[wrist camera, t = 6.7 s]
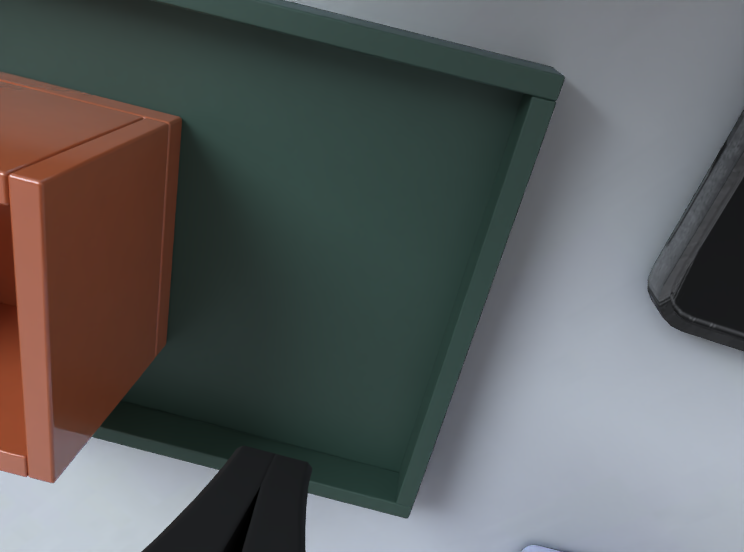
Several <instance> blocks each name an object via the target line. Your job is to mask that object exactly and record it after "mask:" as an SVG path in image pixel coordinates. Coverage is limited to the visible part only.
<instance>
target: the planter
mask: <svg viewBox="0 0 744 552" xmlns="http://www.w3.org/2000/svg"><path fill="white" fill-rule="evenodd" d="M181 128H182V118H181V117H179V116H175V115H171V114H167V113H163V112H159V111H155V110H151V109H147V108H143V107H139V106H135V105H131V104H127V103H123V102H119V101H115V100H111V99H107V98H104V97H100V96H96V95H92V94H88V93H84V92H80V91H76V90H72V89H68V88H64V87H60V86H56V85H52V84H48V83H44V82H40V81H36V80H32V79H28V78H24V77H20V76H16V75H12V74H8V73H4V72H0V471H4V472H8V473H12V474H16V475H20V476H23V477H27V476H29V477H30V478H33V479H37V480H41V481H45V482H49V483H54V482H55V481H56V480H57V479H58V478H59V476H60V475H61V474H62V473H63V471H64V470H65V469H66V468H67V466H68V465H69V464H70V463H71V462H72V460H73V459H74V458H75V457H76V455H77V454H78V453H79V452H80V450H81V449H82V448H83V447H84V445H85V444H86V443H87V442H88V441H89V439H90V438H91V437H92V436H93V434H94V433H95V432H96V431H97V429H98V428H99V427H100V426H101V425H102V423H103V422H104V421H105V420H106V418H107V417H108V416H109V415H110V413H111V412H112V411H113V410H114V408H115V407H116V406H117V405H118V404H119V402H120V401H121V400H122V399H123V397H124V396H125V395H126V394H127V392H128V391H129V390H130V389H131V387H132V386H133V385H134V384H135V383H136V381H137V380H138V379H139V378H140V376H141V375H142V374H143V373H144V371H145V370H146V369H147V368H148V367H149V365H150V364H151V363H152V362H153V360H154V359H155V357H156V356H157V355H158V354H159V353H160V351H161V350H162V349H163V348H164V346H165V345H166V341H167V327H168V313H169V299H170V284H171V270H172V256H173V242H174V228H175V213H176V199H177V185H178V171H179V157H180V142H181Z"/></svg>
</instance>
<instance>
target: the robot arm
mask: <svg viewBox="0 0 744 552" xmlns="http://www.w3.org/2000/svg"><path fill="white" fill-rule="evenodd" d="M312 469H313V468H312V467H311V466H310V464H309V463H308V462H306V461H302V460H298V459H294V458H290V457H286V456H283V455H279V454H275V453H271V452H267V451H263V450H260V449H256V448H252V447H248V446H244V445H243V446H241V447H239V448H237V449H236V450H235V451H234V453H233V454H232V456H231V457H230V458H229V459H228V461H227V462H226V463H225V464H224V466H223V467H222V468H221V469H220V471H219V472H218V473H217V474H216V475H215V477H214V478H213V479H212V480H211V481H210V482H209V484H208V485H207V486H206V487H205V488H204V489H203V490H202V491H201V492H200V494H199V495H198V496H197V497H196V498H195V499H194V500H193V501H192V502H191V503H190V504H189V505H188V506H187V507H186V508H185V509H184V510H183V511H182V513H181V514H180V515H179V516H178V517H177V518H176V519H175V520H174V521H173V522H172V523H171V524H170V525H169V526H168V527H167V528H166V529H165V530H164V531H163V532H162V533H161V534H160V535H159V536H158V537H157V538H156V539H155V540H154V541H153V542H152V543H150V544H149V545H148V546H147V547H146V548H145V549H144V550H143V551H142V552H305V523H306V504H307V494H308V487H309V482H310V477H311V473H312ZM521 552H562V551H558V550H554V549H550V548H546V547H542V546H538V545H529V546H527V547H525V548H524V549H523V550H522V551H521Z"/></svg>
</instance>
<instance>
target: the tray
mask: <svg viewBox="0 0 744 552" xmlns="http://www.w3.org/2000/svg"><path fill="white" fill-rule="evenodd" d="M0 72H4V73H8V74H12V75H16V76H20V77H24V78H28V79H32V80H36V81H40V82H44V83H48V84H52V85H56V86H60V87H64V88H68V89H72V90H76V91H80V92H84V93H88V94H92V95H96V96H100V97H104V98H107V99H111V100H115V101H119V102H123V103H127V104H131V105H135V106H139V107H143V108H147V109H151V110H155V111H159V112H163V113H167V114H171V115H175V116H179V117H181V118H182V128H181V142H180V157H179V171H178V185H177V199H176V213H175V228H174V242H173V256H172V270H171V284H170V299H169V313H168V327H167V341H166V345H165V346H164V348H163V349H162V350H161V351H160V353H159V354H158V355H157V356H156V357H155V359H154V360H153V362H152V363H151V364H150V365H149V367H148V368H147V369H146V370H145V371H144V373H143V374H142V375H141V376H140V378H139V379H138V380H137V381H136V383H135V384H134V385H133V386H132V387H131V389H130V390H129V391H128V392H127V394H126V395H125V396H124V397H123V399H122V400H121V401H120V402H119V404H118V405H117V406H116V407H115V408H114V410H113V411H112V412H111V413H110V415H109V416H108V417H107V418H106V420H105V421H104V422H103V423H102V425H101V426H100V427H99V428H98V429H97V431H96V432H95V433H94V434H93V436H92V437H94V438H98V439H102V440H106V441H110V442H114V443H117V444H121V445H125V446H129V447H133V448H137V449H141V450H144V451H148V452H152V453H156V454H160V455H164V456H168V457H171V458H175V459H179V460H183V461H187V462H191V463H195V464H198V465H202V466H206V467H210V468H214V469H218V470H220V469H221V468H222V467H223V466H224V464H225V463H226V462H227V461H228V459H229V458H230V457H231V456H232V454H233V453H234V451H235V450H236V449H237V448H239V447H241V446H243V445H244V446H248V447H252V448H256V449H260V450H263V451H267V452H271V453H275V454H279V455H283V456H286V457H290V458H294V459H298V460H302V461H306V462H308V463H309V464H310V466H311V467H312V468H313V469H312V473H311V477H310V482H309V487H308V493H310V494H314V495H318V496H322V497H326V498H329V499H333V500H337V501H341V502H345V503H349V504H353V505H356V506H360V507H364V508H368V509H372V510H376V511H380V512H383V513H387V514H391V515H395V516H399V517H403V518H408V517H409V515H410V512H411V510H412V506H413V504H414V502H415V499H416V496H417V493H418V490H419V487H420V485H421V482H422V479H423V476H424V473H425V471H426V468H427V465H428V462H429V459H430V456H431V454H432V451H433V448H434V445H435V442H436V440H437V437H438V434H439V431H440V428H441V426H442V423H443V420H444V417H445V414H446V411H447V409H448V406H449V403H450V400H451V397H452V395H453V392H454V389H455V386H456V383H457V381H458V378H459V375H460V372H461V369H462V366H463V364H464V361H465V358H466V355H467V352H468V350H469V347H470V344H471V341H472V338H473V336H474V333H475V330H476V327H477V324H478V321H479V319H480V316H481V313H482V310H483V307H484V305H485V302H486V299H487V296H488V293H489V290H490V288H491V285H492V282H493V279H494V276H495V274H496V271H497V268H498V265H499V262H500V260H501V257H502V254H503V251H504V248H505V245H506V243H507V240H508V237H509V234H510V231H511V229H512V226H513V223H514V220H515V217H516V215H517V212H518V209H519V206H520V203H521V200H522V198H523V195H524V192H525V189H526V186H527V184H528V181H529V178H530V175H531V172H532V170H533V167H534V164H535V161H536V158H537V155H538V153H539V150H540V147H541V144H542V141H543V139H544V136H545V133H546V130H547V127H548V124H549V122H550V119H551V116H552V113H553V110H554V108H555V105H556V102H555V101H556V100H557V99H558V96H559V93H560V91H561V88H562V85H563V82H564V79H565V77H564V76H563V75H562V74H561V73H559V72H558V71H557V70H555V69H554V68H553V67H551V66H546V65H542V64H538V63H534V62H530V61H526V60H522V59H518V58H514V57H510V56H506V55H502V54H498V53H494V52H490V51H486V50H482V49H478V48H474V47H470V46H466V45H462V44H458V43H454V42H450V41H446V40H442V39H438V38H434V37H430V36H426V35H422V34H418V33H414V32H410V31H406V30H402V29H398V28H394V27H390V26H386V25H381V24H377V23H373V22H369V21H365V20H361V19H357V18H353V17H349V16H345V15H341V14H337V13H333V12H329V11H325V10H321V9H317V8H313V7H309V6H305V5H301V4H297V3H293V2H289V1H285V0H0Z"/></svg>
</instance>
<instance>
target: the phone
mask: <svg viewBox="0 0 744 552" xmlns="http://www.w3.org/2000/svg"><path fill="white" fill-rule="evenodd" d="M648 292H649V295H650V297H651V300H652V301H653V303H654V304H655V306H656V307H657V309H658V311H659V312H660V314H661V315H662V317H663V318H664V319H665V320H666V321H667V322H668V323H669V324H670V325H671V326H672V327H674V328H676V329H678V330H680V331H682V332H685V333H689V334H692V335H695V336H698V337H701V338H704V339H707V340H710V341H713V342H716V343H720V344H723V345H726V346H729V347H732V348H735V349H738V350H741V351H744V110H743V112H742V114H741V116H740V117H739V119H738V121H737V123H736V124H735V126H734V128H733V129H732V131H731V133H730V135H729V136H728V138H727V140H726V142H725V143H724V145H723V147H722V148H721V150H720V152H719V154H718V155H717V157H716V159H715V160H714V162H713V164H712V166H711V167H710V169H709V171H708V173H707V174H706V176H705V178H704V179H703V181H702V183H701V185H700V186H699V188H698V190H697V192H696V193H695V195H694V197H693V198H692V200H691V202H690V204H689V205H688V207H687V209H686V211H685V212H684V214H683V216H682V217H681V219H680V221H679V223H678V224H677V226H676V228H675V230H674V231H673V233H672V235H671V236H670V238H669V240H668V242H667V243H666V245H665V247H664V249H663V250H662V252H661V254H660V255H659V257H658V259H657V261H656V262H655V264H654V266H653V268H652V270H651V272H650V275H649V278H648Z"/></svg>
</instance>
